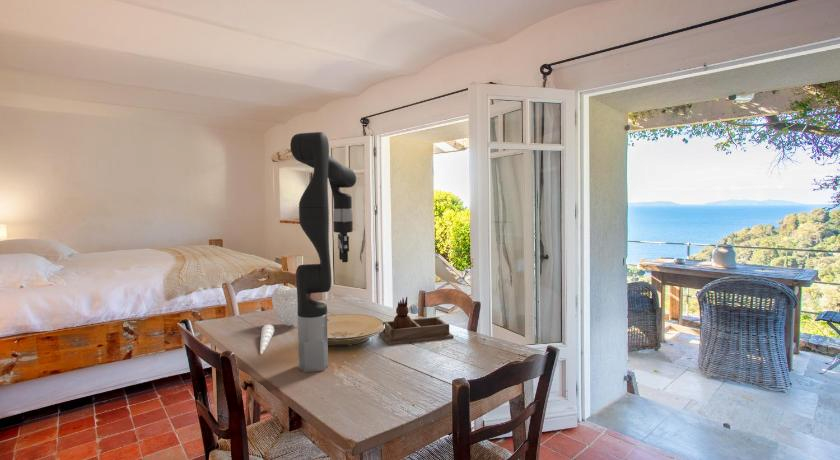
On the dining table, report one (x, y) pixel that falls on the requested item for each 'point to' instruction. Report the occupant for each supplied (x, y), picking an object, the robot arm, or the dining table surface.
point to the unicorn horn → (266, 336)
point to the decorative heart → (286, 304)
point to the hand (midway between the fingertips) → (343, 260)
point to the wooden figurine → (402, 316)
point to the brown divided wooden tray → (417, 331)
